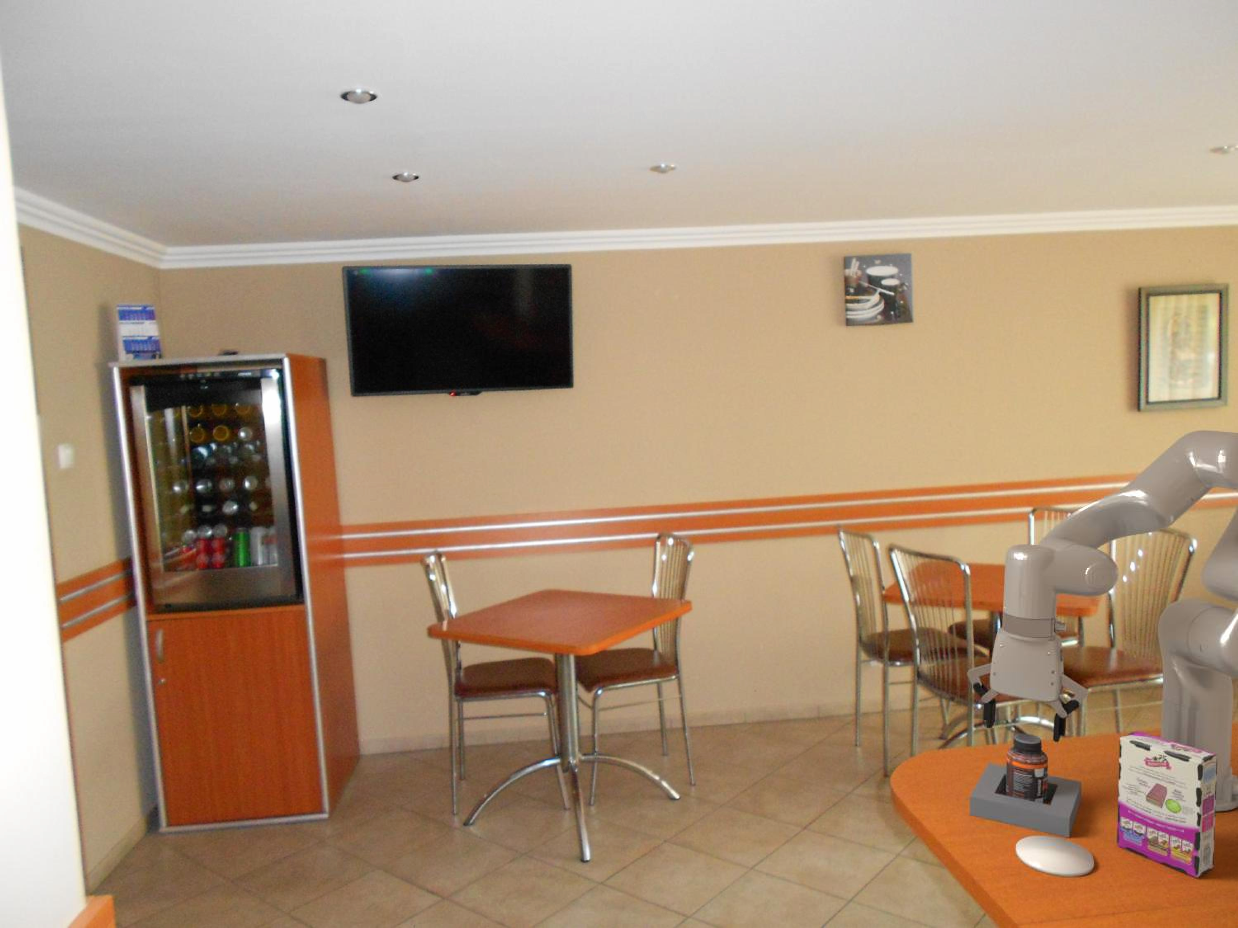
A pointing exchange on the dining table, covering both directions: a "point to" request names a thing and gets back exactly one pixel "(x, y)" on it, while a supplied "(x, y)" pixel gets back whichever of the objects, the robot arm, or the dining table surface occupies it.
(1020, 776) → the supplement bottle
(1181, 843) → the candy bar box
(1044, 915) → the dining table surface
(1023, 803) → the socket block
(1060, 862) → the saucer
